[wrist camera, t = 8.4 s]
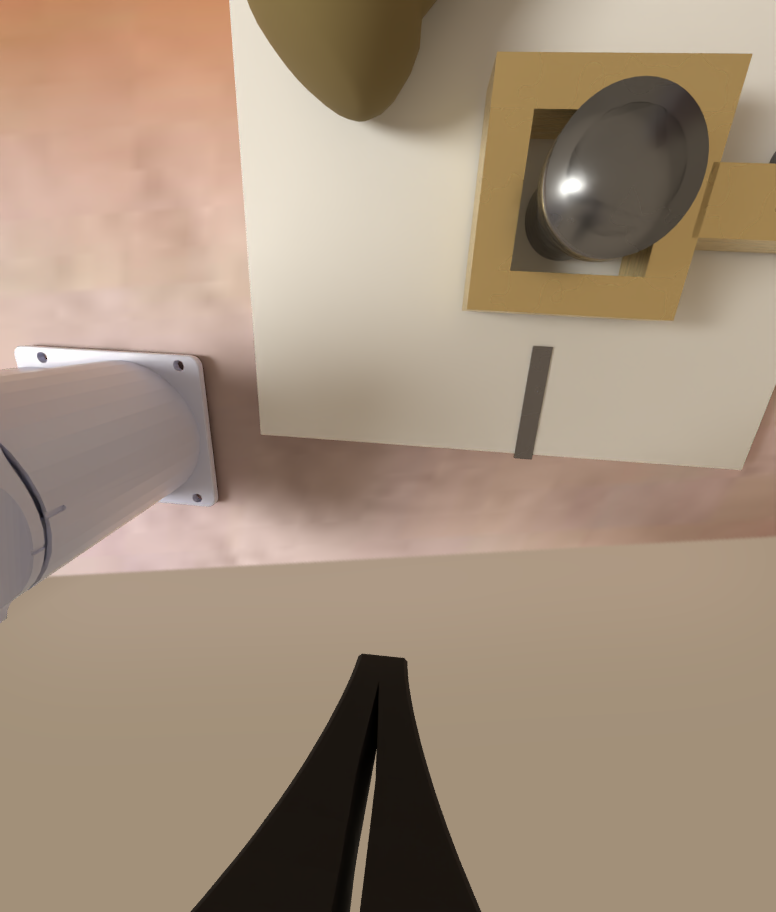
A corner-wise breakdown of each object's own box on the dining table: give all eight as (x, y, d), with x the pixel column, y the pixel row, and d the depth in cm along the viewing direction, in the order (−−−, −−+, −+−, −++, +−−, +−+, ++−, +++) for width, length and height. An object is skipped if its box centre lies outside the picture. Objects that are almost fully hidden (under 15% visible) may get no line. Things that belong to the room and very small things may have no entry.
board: (268, 428, 19) (260, 434, 18) (239, -31, 13) (225, -57, 13) (725, 462, 18) (741, 470, 17) (916, -43, 12) (958, -74, 11)
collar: (461, 310, 15) (469, 308, 13) (486, 90, 13) (502, 31, 10) (800, 329, 14) (884, 331, 12) (895, 97, 12) (1027, 34, 9)
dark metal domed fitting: (478, 454, 18) (495, 497, 13) (523, 132, 13) (567, 46, 9) (744, 474, 17) (850, 526, 13) (880, 136, 13) (1109, 44, 8)
